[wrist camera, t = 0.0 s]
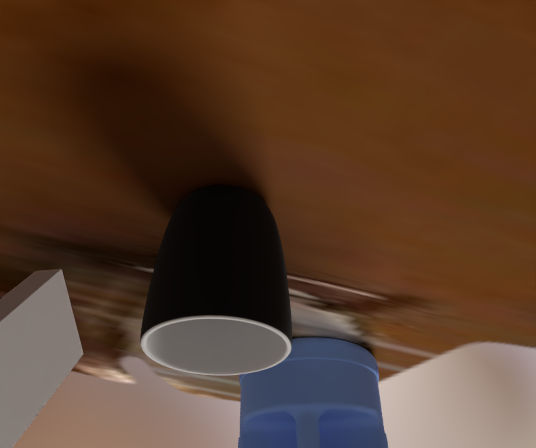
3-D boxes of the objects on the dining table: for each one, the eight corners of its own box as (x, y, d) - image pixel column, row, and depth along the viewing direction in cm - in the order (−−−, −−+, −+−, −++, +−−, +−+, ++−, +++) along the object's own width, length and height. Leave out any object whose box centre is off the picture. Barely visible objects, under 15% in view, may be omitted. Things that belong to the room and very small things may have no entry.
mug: (132, 204, 35) (106, 343, 29) (233, 150, 31) (226, 300, 25) (240, 275, 43) (236, 396, 37) (333, 240, 39) (345, 369, 33)
